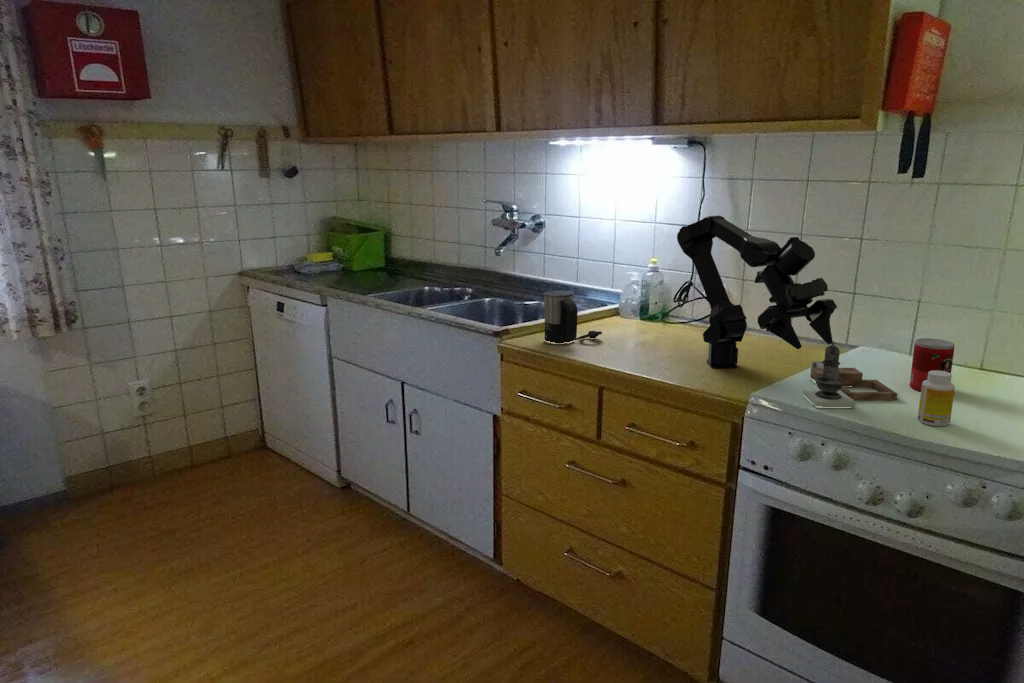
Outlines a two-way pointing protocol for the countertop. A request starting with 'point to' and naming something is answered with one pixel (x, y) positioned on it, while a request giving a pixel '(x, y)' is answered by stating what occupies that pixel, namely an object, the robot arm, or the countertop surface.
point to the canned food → (930, 359)
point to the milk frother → (562, 317)
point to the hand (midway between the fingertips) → (815, 345)
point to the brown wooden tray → (859, 385)
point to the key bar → (817, 365)
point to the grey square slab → (829, 400)
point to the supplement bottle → (936, 399)
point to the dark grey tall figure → (830, 375)
